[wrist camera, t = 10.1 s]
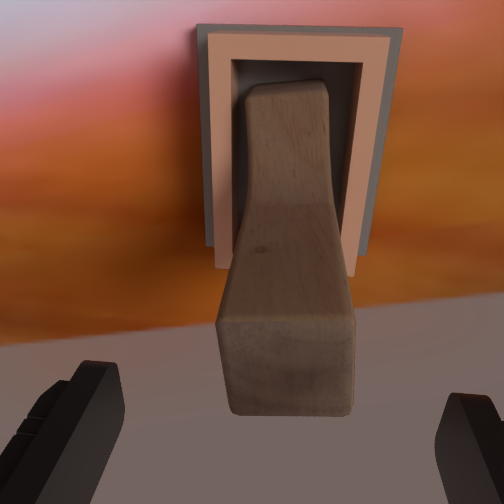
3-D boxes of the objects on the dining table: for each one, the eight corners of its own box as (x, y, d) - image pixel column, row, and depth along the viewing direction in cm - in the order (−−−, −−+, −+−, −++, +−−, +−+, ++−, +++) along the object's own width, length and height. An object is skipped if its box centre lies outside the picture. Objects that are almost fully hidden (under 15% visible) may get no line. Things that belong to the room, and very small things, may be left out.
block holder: (399, 27, 26) (417, 31, 22) (364, 249, 33) (373, 281, 29) (199, 23, 27) (183, 26, 23) (208, 240, 34) (196, 270, 30)
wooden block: (251, 83, 27) (188, 186, 12) (324, 76, 27) (361, 176, 11) (262, 215, 32) (228, 420, 16) (325, 212, 31) (354, 421, 15)
